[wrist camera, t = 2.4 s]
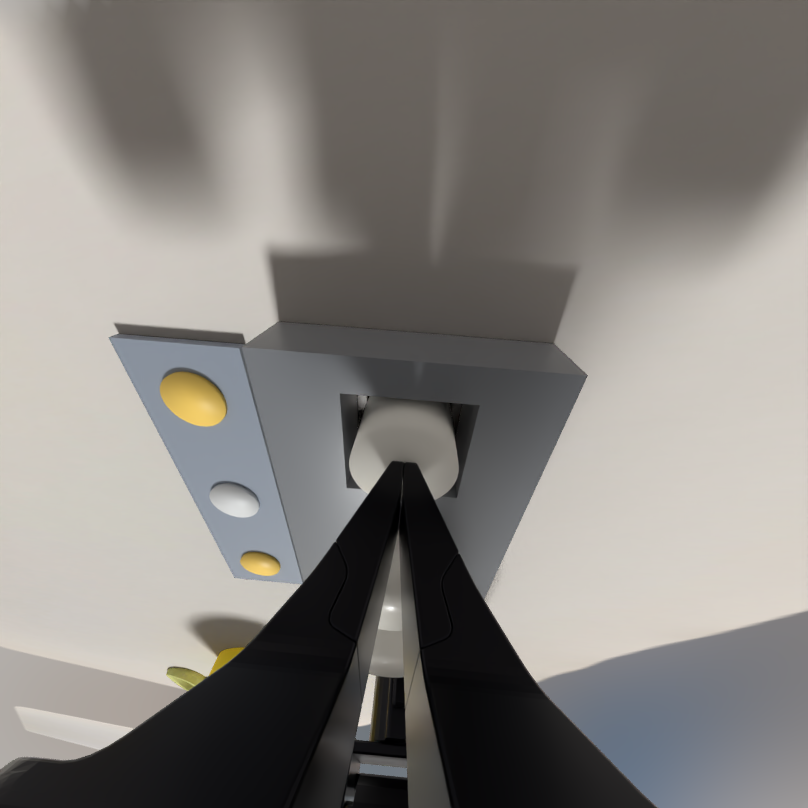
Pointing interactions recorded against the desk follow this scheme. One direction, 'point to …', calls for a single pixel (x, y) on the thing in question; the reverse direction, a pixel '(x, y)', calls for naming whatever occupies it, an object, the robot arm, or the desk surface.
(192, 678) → the key
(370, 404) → the button
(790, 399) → the desk surface
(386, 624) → the button middle
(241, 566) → the pattern card
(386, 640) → the button
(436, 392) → the button panel
